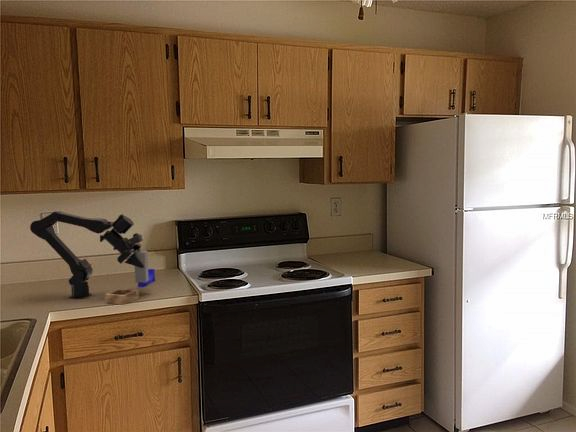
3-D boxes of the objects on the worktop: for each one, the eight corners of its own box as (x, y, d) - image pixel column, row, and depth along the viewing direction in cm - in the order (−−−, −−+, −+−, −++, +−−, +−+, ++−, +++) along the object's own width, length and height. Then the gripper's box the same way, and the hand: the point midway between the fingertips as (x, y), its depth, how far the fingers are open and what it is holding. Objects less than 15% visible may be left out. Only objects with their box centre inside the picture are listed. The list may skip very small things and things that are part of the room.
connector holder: (105, 302, 197) (104, 294, 196) (120, 296, 206) (119, 288, 205) (124, 304, 194) (123, 296, 193) (138, 298, 202) (138, 290, 202)
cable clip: (146, 280, 233) (145, 268, 232) (155, 280, 232) (154, 268, 232) (135, 287, 221) (134, 274, 221) (144, 287, 221) (143, 274, 220)
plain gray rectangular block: (135, 282, 205) (134, 252, 204) (138, 279, 210) (136, 250, 208) (146, 282, 205) (144, 252, 204) (148, 279, 210) (147, 250, 208)
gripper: (123, 231, 195) (152, 257, 197) (136, 225, 214) (162, 249, 216) (105, 250, 196) (133, 276, 198) (119, 242, 214) (145, 266, 216)
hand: (144, 266), depth 207 cm, fingers closed on plain gray rectangular block, 4 cm apart
